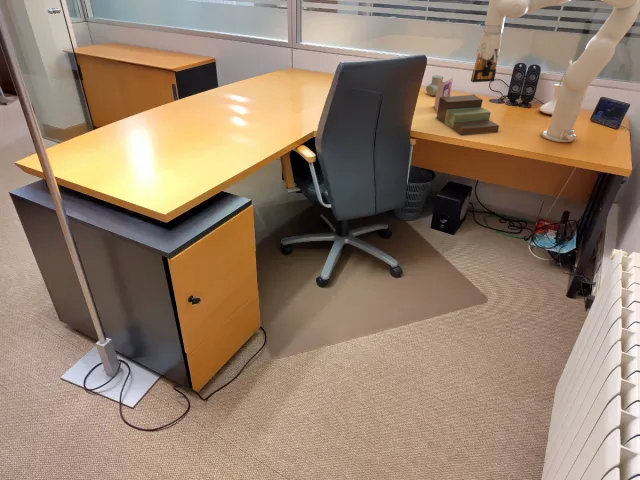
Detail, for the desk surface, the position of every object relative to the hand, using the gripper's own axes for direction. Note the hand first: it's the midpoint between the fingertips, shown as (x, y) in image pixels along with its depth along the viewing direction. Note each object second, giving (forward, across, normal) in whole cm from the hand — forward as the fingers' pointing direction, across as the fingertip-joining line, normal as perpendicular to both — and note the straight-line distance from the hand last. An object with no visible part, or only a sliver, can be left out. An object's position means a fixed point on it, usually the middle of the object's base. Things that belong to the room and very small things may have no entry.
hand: (483, 75), depth 190 cm
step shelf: (+22, 0, -4) cm, 22 cm away
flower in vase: (+22, -6, +48) cm, 53 cm away
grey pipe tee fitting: (+22, -49, +4) cm, 54 cm away
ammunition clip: (+3, 0, 0) cm, 3 cm away
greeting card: (+22, -24, -6) cm, 33 cm away
